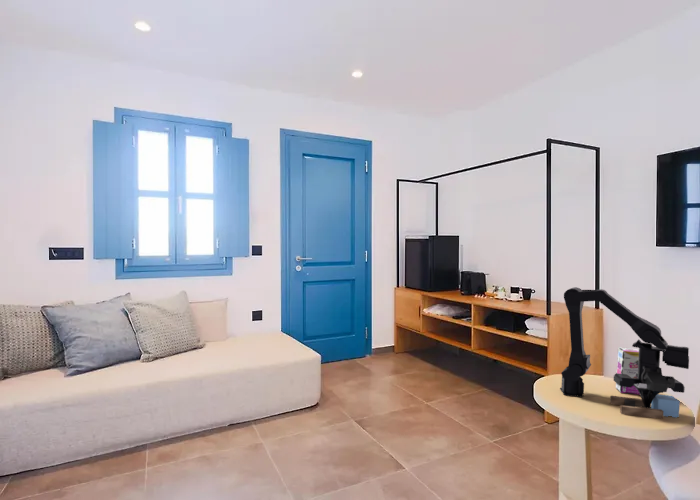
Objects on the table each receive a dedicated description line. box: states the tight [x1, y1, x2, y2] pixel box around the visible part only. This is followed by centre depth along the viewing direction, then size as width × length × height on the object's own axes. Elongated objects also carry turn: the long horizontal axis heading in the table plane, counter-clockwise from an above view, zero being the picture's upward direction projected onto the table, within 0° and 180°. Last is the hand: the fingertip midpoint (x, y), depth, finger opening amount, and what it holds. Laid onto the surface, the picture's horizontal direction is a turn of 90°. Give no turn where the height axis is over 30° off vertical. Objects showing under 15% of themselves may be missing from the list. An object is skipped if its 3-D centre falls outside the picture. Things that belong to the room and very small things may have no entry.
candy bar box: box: [615, 347, 640, 395], centre depth 151 cm, size 11×5×16 cm, turn 77°
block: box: [651, 393, 681, 418], centre depth 133 cm, size 6×4×6 cm
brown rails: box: [609, 395, 664, 419], centre depth 135 cm, size 12×9×2 cm
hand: (646, 407), depth 134 cm, fingers closed
